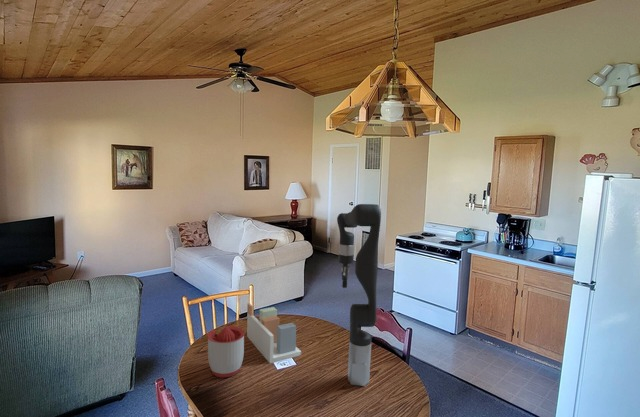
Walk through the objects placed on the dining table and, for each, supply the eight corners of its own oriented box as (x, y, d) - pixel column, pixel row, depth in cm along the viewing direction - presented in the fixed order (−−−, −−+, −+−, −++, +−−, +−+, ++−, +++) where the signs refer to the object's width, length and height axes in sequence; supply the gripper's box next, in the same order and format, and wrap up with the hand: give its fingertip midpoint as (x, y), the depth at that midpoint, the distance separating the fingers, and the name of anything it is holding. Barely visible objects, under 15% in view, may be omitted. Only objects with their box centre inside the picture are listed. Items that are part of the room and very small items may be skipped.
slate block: (291, 345, 182) (292, 322, 181) (295, 349, 179) (296, 325, 177) (276, 349, 178) (277, 325, 177) (280, 353, 175) (280, 329, 173)
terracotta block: (275, 338, 190) (276, 315, 189) (279, 341, 186) (279, 318, 185) (260, 341, 186) (261, 318, 184) (264, 345, 182) (264, 321, 181)
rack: (275, 330, 204) (275, 298, 202) (300, 355, 178) (302, 319, 176) (247, 336, 196) (247, 303, 194) (269, 363, 170) (270, 325, 168)
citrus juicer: (232, 356, 175) (232, 315, 173) (250, 372, 162) (251, 328, 160) (200, 366, 165) (199, 323, 163) (216, 385, 152) (216, 338, 150)
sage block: (273, 328, 201) (273, 306, 200) (276, 331, 197) (277, 309, 196) (259, 331, 197) (259, 309, 196) (262, 334, 193) (262, 312, 192)
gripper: (340, 250, 193) (338, 283, 194) (337, 255, 180) (335, 290, 181) (354, 251, 192) (353, 284, 193) (352, 256, 179) (351, 291, 180)
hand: (344, 287), depth 187 cm, fingers closed
